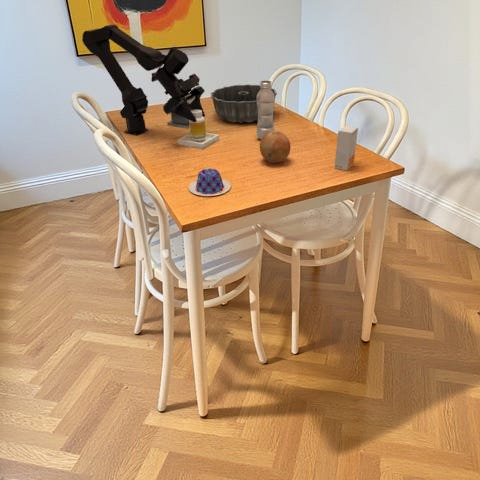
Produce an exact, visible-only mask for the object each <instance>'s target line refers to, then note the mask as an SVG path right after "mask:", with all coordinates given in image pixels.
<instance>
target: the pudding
mask: <svg viewBox="0 0 480 480" xmlns="http://www.w3.org/2000/svg"><path fill="white" fill-rule="evenodd" d="M224 185H225V187H224ZM224 188H225V190H224ZM230 189H231V183H230V182H229V181H228V180H226V179H223V178H222V176H221V173H220V171H218V170H217V169H216V168H204V169H201V170H200V171H198V174H197V180H194V181H193V182H191V183H190V184H189V186H188V190H189V192H191V193H192V194H195V195H198V196H204V197H212V196H218V195H223V194H225V193H227V192H229V190H230ZM223 190H224V191H223ZM196 191H197V192H196ZM220 191H221V193H220ZM222 191H223V192H222ZM200 193H201V194H200ZM215 193H216V194H215ZM217 193H218V194H217ZM210 194H212V195H210Z"/></svg>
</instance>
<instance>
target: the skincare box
mask: <svg viewBox="0 0 480 480" xmlns="http://www.w3.org/2000/svg"><path fill="white" fill-rule="evenodd" d="M358 133H359V127H358V126H354V125H353V126H352V125H343V127H341V128H340V129H339V130H338V132H337V140H336V150H335V157H334V169H337V170H343V171H348V170H349V169H350V168H351V167H353V165H354V163H355V156H356V150H357V141H358Z"/></svg>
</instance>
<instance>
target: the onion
mask: <svg viewBox="0 0 480 480" xmlns="http://www.w3.org/2000/svg"><path fill="white" fill-rule="evenodd" d="M259 152H260V155H261V156H262V158H263V159H265V160H266V161H268V162H270V163H273V164H276V163H281V162H283V161H284V160H286V159H287V158H288V157H289V156H290V153H291V141H290V140H289V137H288V136H287V135H286V134H285V133H284V132H281V131H279V130H274V131H270V132H267V133H266V134H265V135H264V136H263V138H262V140H260V143H259Z"/></svg>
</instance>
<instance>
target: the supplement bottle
mask: <svg viewBox="0 0 480 480" xmlns="http://www.w3.org/2000/svg"><path fill="white" fill-rule="evenodd" d="M191 112H192V114H193V115H194V117H195V118H196V120H197V121H196V122H193V121H190V120H189V125H190V128H189V133H190V137H191V139H192V140H196V141H198V140H203V139H205V138H206V134H205V133H206V121H205V117H203V116H202V110H191Z"/></svg>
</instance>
